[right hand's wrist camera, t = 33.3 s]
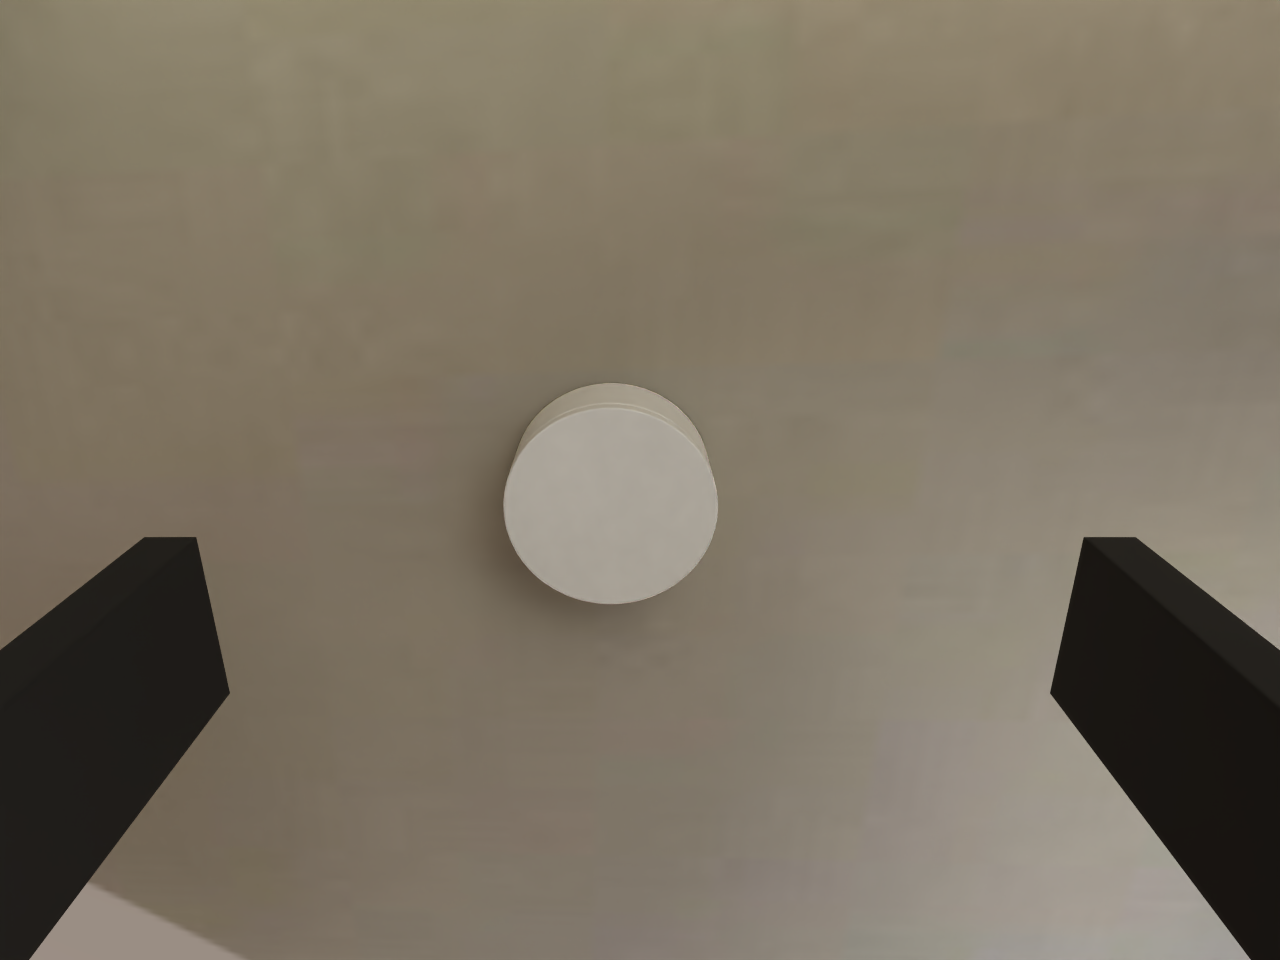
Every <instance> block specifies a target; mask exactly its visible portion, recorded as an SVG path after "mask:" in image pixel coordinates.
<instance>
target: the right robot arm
mask: <svg viewBox="0 0 1280 960" xmlns="http://www.w3.org/2000/svg"><path fill="white" fill-rule="evenodd" d="M229 694H230V691H229V687H228V682H227V678H226V673H225V668H224V664H223V659H222V654H221V650H220V645H219V640H218V636H217V631H216V627H215V622H214V617H213V613H212V608H211V603H210V599H209V594H208V590H207V585H206V580H205V576H204V571H203V566H202V562H201V557H200V552H199V548H198V543H197V539H196V537H144V538H143V539H142V540H140V541H139V542H138V543H136V544H135V545H134V546H133V547H131V548H130V549H129V550H128V551H126V552H125V553H124V554H122V555H121V556H120V557H119V558H117V559H116V560H115V561H114V562H112V563H111V564H110V565H108V566H107V567H106V568H105V569H103V570H102V571H101V572H99V573H98V574H97V575H96V576H94V577H93V578H92V579H91V580H89V581H88V582H87V583H85V584H84V585H83V586H82V587H80V588H79V589H78V590H77V591H75V592H74V593H73V594H71V595H70V596H69V597H68V598H66V599H65V600H64V601H62V602H61V603H60V604H59V605H57V606H56V607H55V608H54V609H52V610H51V611H50V612H48V613H47V614H46V615H45V616H43V617H42V618H41V619H40V620H38V621H37V622H36V623H34V624H33V625H32V626H31V627H29V628H28V629H27V630H26V631H24V632H23V633H22V634H20V635H19V636H18V637H17V638H15V639H14V640H13V641H11V642H10V643H9V644H8V645H6V646H5V647H4V648H3V649H1V650H0V960H29V959H30V958H31V956H32V955H33V954H34V952H35V951H36V950H37V948H38V947H39V946H40V944H41V943H42V942H43V941H44V939H45V938H46V936H47V935H48V934H49V933H50V931H51V930H52V929H53V927H54V926H55V925H56V923H57V922H58V921H59V919H60V918H61V917H62V915H63V914H64V913H65V911H66V910H67V909H68V907H69V906H70V905H71V903H72V902H73V901H74V899H75V898H76V897H77V895H78V894H79V893H80V891H81V890H82V889H83V887H84V886H85V885H86V883H87V882H88V881H89V879H90V878H91V877H92V875H93V874H94V873H95V871H96V870H97V869H98V868H99V866H100V865H101V864H102V862H103V861H104V860H105V858H106V857H107V856H108V854H109V853H110V852H111V850H112V849H113V848H114V846H115V845H116V844H117V842H118V841H119V840H120V838H121V837H122V836H123V834H124V833H125V832H126V830H127V829H128V828H129V826H130V825H131V824H132V822H133V821H134V820H135V818H136V817H137V816H138V814H139V813H140V812H141V810H142V809H143V808H144V806H145V805H146V804H147V802H148V801H149V800H150V798H151V797H152V796H153V795H154V793H155V792H156V791H157V789H158V788H159V787H160V785H161V784H162V783H163V781H164V780H165V779H166V777H167V776H168V775H169V773H170V772H171V771H172V769H173V768H174V767H175V765H176V764H177V763H178V761H179V760H180V759H181V757H182V756H183V755H184V753H185V752H186V751H187V749H188V748H189V747H190V745H191V744H192V743H193V741H194V740H195V739H196V737H197V736H198V735H199V733H200V732H201V731H202V729H203V728H204V727H205V726H206V724H207V723H208V722H209V720H210V719H211V718H212V716H213V715H214V714H215V712H216V711H217V710H218V708H219V707H220V706H221V704H222V703H223V702H224V700H225V699H226V698H227V696H228V695H229ZM1050 694H1051V695H1052V696H1053V698H1054V699H1055V700H1056V702H1057V703H1058V704H1059V706H1060V707H1061V708H1062V710H1063V711H1064V712H1065V714H1066V715H1067V716H1068V718H1069V719H1070V720H1071V722H1072V723H1073V724H1074V726H1075V727H1076V728H1077V729H1078V731H1079V732H1080V733H1081V735H1082V736H1083V737H1084V739H1085V740H1086V741H1087V743H1088V744H1089V745H1090V747H1091V748H1092V749H1093V751H1094V752H1095V753H1096V755H1097V756H1098V757H1099V759H1100V760H1101V761H1102V763H1103V764H1104V765H1105V767H1106V768H1107V769H1108V771H1109V772H1110V773H1111V775H1112V776H1113V777H1114V779H1115V780H1116V781H1117V783H1118V784H1119V785H1120V787H1121V788H1122V789H1123V791H1124V792H1125V793H1126V795H1127V796H1128V797H1129V798H1130V800H1131V801H1132V802H1133V804H1134V805H1135V806H1136V808H1137V809H1138V810H1139V812H1140V813H1141V814H1142V816H1143V817H1144V818H1145V820H1146V821H1147V822H1148V824H1149V825H1150V826H1151V828H1152V829H1153V830H1154V832H1155V833H1156V834H1157V836H1158V837H1159V838H1160V840H1161V841H1162V842H1163V844H1164V845H1165V846H1166V848H1167V849H1168V850H1169V852H1170V853H1171V854H1172V856H1173V857H1174V858H1175V860H1176V861H1177V862H1178V864H1179V865H1180V866H1181V868H1182V869H1183V870H1184V871H1185V873H1186V874H1187V875H1188V877H1189V878H1190V879H1191V881H1192V882H1193V883H1194V885H1195V886H1196V887H1197V889H1198V890H1199V891H1200V893H1201V894H1202V895H1203V897H1204V898H1205V899H1206V901H1207V902H1208V903H1209V905H1210V906H1211V907H1212V909H1213V910H1214V911H1215V913H1216V914H1217V915H1218V917H1219V918H1220V919H1221V921H1222V922H1223V923H1224V925H1225V926H1226V927H1227V929H1228V930H1229V931H1230V933H1231V934H1232V935H1233V937H1234V938H1235V939H1236V941H1237V942H1238V943H1239V944H1240V946H1241V947H1242V948H1243V950H1244V951H1245V952H1246V954H1247V955H1248V956H1249V958H1250V959H1251V960H1280V650H1279V649H1277V648H1276V647H1275V646H1274V645H1272V644H1271V643H1270V642H1269V641H1267V640H1266V639H1265V638H1263V637H1262V636H1261V635H1260V634H1258V633H1257V632H1256V631H1255V630H1253V629H1252V628H1251V627H1249V626H1248V625H1247V624H1246V623H1244V622H1243V621H1242V620H1240V619H1239V618H1238V617H1237V616H1235V615H1234V614H1233V613H1232V612H1230V611H1229V610H1228V609H1226V608H1225V607H1224V606H1223V605H1221V604H1220V603H1219V602H1218V601H1216V600H1215V599H1214V598H1212V597H1211V596H1210V595H1209V594H1207V593H1206V592H1205V591H1203V590H1202V589H1201V588H1200V587H1198V586H1197V585H1196V584H1195V583H1193V582H1192V581H1191V580H1189V579H1188V578H1187V577H1186V576H1184V575H1183V574H1182V573H1181V572H1179V571H1178V570H1177V569H1175V568H1174V567H1173V566H1172V565H1170V564H1169V563H1168V562H1166V561H1165V560H1164V559H1163V558H1161V557H1160V556H1159V555H1158V554H1156V553H1155V552H1154V551H1152V550H1151V549H1150V548H1149V547H1147V546H1146V545H1145V544H1144V543H1142V542H1141V541H1140V540H1138V539H1137V538H1136V537H1084V539H1083V543H1082V548H1081V552H1080V557H1079V562H1078V566H1077V571H1076V576H1075V580H1074V585H1073V590H1072V594H1071V599H1070V603H1069V608H1068V613H1067V617H1066V622H1065V627H1064V631H1063V636H1062V640H1061V645H1060V650H1059V654H1058V659H1057V664H1056V668H1055V673H1054V678H1053V682H1052V687H1051V691H1050Z"/></svg>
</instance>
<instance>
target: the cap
mask: <svg viewBox="0 0 1280 960" xmlns="http://www.w3.org/2000/svg"><path fill="white" fill-rule="evenodd" d="M503 510H504V520H505V525H506V530H507V533H508V535H509V538H510V541H511V543H512V545H513V547H514V549H515V551H516V553H517V554H518V556H519V557H520V559H521V560H522V562H523V563H524V564H525V565H526V566H527V568H528V569H529V570H530V571H531V572H532V573H533V574H534V575H535V576H536V577H538V578H539V579H540V580H541V581H542V582H544V583H545V584H547V585H548V586H550V587H551V588H553V589H554V590H556V591H558V592H560V593H562V594H564V595H567V596H569V597H572V598H575V599H578V600H582V601H586V602H590V603H598V604H624V603H632V602H636V601H640V600H644V599H647V598H650V597H653V596H656V595H658V594H660V593H662V592H664V591H666V590H668V589H669V588H671V587H672V586H674V585H675V584H677V583H678V582H680V581H681V580H682V579H683V578H684V577H685V576H687V575H688V574H689V573H690V572H691V571H692V570H693V568H694V567H695V566H696V565H697V564H698V563H699V561H700V560H701V558H702V557H703V555H704V554H705V552H706V550H707V548H708V546H709V545H710V543H711V540H712V537H713V534H714V531H715V527H716V522H717V517H718V497H717V489H716V485H715V481H714V477H713V474H712V470H711V466H710V463H709V459H708V456H707V452H706V449H705V446H704V444H703V441H702V438H701V436H700V435H699V433H698V431H697V429H696V427H695V426H694V425H693V423H692V422H691V421H690V419H689V418H688V417H687V416H686V415H685V414H684V413H683V412H682V411H681V410H680V409H679V408H678V407H677V406H676V405H674V404H673V403H672V402H670V401H669V400H667V399H666V398H664V397H662V396H661V395H659V394H657V393H655V392H652V391H650V390H647V389H645V388H641V387H638V386H634V385H628V384H621V383H602V384H593V385H589V386H585V387H581V388H578V389H575V390H573V391H570V392H568V393H566V394H564V395H562V396H560V397H558V398H557V399H555V400H554V401H552V402H551V403H550V404H548V405H547V406H546V407H544V408H543V409H542V410H541V411H540V412H539V413H538V414H537V415H536V416H535V418H534V419H533V420H532V422H531V423H530V424H529V425H528V427H527V429H526V431H525V432H524V434H523V436H522V438H521V441H520V443H519V446H518V448H517V451H516V454H515V457H514V460H513V463H512V466H511V469H510V472H509V475H508V478H507V482H506V486H505V490H504V500H503Z"/></svg>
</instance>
